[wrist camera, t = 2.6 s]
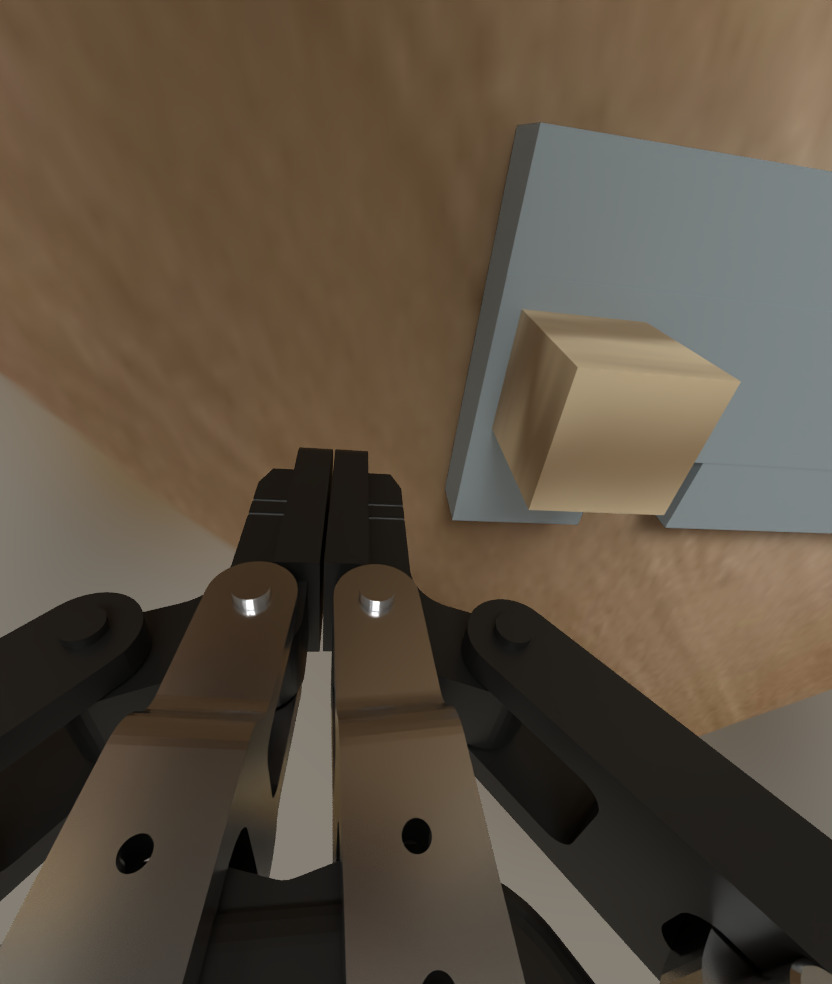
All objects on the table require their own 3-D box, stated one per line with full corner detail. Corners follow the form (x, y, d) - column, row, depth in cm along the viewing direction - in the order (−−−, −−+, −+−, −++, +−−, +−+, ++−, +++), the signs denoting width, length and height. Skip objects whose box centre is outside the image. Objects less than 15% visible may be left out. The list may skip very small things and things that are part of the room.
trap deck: (517, 125, 14) (583, 116, 10) (1190, 237, 18) (1445, 265, 14) (444, 488, 22) (463, 569, 18) (918, 510, 26) (1025, 580, 22)
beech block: (521, 309, 15) (578, 367, 11) (646, 322, 16) (740, 381, 12) (492, 428, 18) (528, 509, 14) (599, 435, 18) (664, 515, 14)
